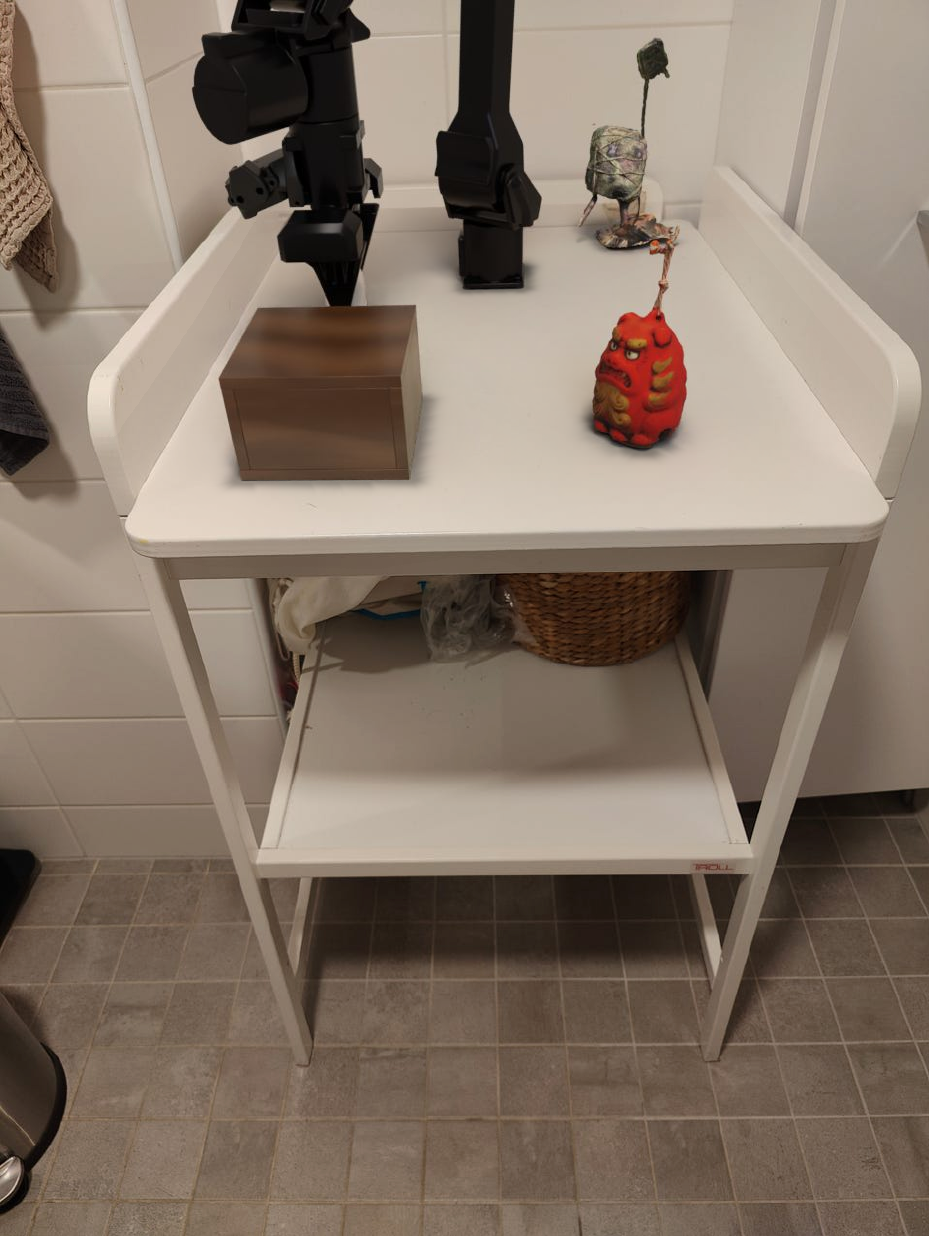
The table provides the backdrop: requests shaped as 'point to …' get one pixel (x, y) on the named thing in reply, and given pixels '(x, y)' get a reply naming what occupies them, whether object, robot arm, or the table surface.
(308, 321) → the cabinet
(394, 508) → the table surface
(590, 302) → the table surface
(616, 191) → the grey-green tall irregular figure
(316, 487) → the table surface
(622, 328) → the red clay folk toy
